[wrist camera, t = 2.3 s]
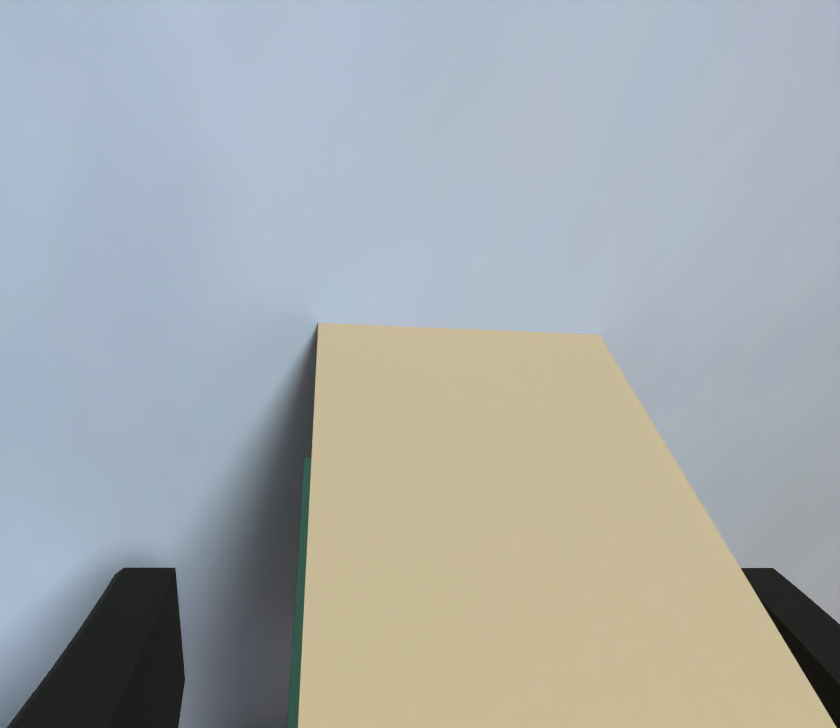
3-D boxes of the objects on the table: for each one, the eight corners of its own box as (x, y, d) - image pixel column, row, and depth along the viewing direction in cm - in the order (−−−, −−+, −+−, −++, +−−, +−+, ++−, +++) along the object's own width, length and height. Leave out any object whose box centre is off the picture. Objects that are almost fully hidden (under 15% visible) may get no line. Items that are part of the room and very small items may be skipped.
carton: (599, 334, 11) (898, 830, 5) (530, 624, 14) (671, 1153, 8) (311, 321, 11) (273, 857, 5) (303, 625, 14) (274, 1190, 8)
